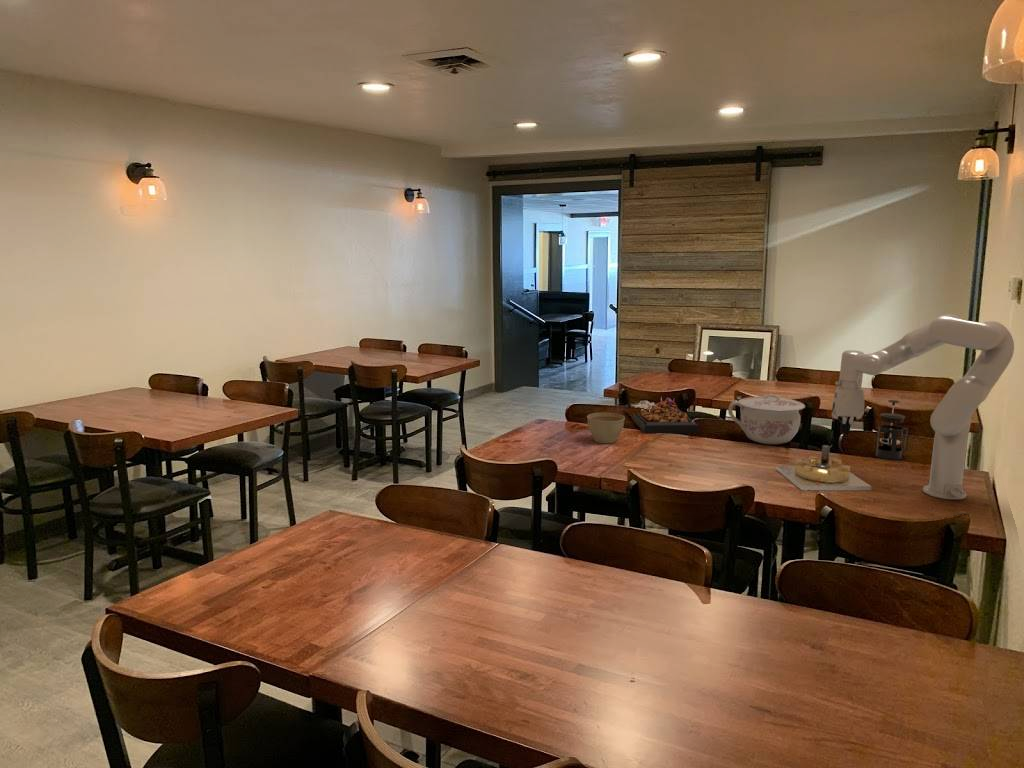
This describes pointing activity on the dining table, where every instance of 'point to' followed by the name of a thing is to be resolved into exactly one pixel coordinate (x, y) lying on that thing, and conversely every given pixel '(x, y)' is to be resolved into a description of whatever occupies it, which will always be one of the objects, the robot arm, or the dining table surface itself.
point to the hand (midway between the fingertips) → (844, 433)
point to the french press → (892, 451)
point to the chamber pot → (768, 418)
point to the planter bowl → (605, 426)
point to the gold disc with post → (822, 468)
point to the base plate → (806, 484)
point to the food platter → (662, 418)
